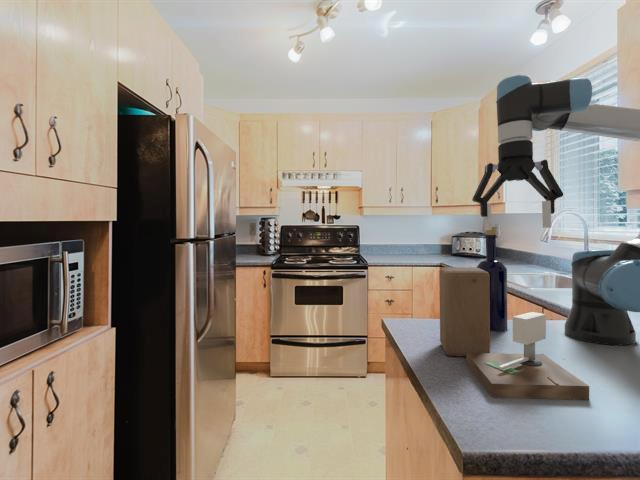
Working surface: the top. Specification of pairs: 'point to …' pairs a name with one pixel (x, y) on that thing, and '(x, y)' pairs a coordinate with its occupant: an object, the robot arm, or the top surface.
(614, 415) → the top surface
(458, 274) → the wooden block
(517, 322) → the cream block and rod
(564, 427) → the top surface
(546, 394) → the board
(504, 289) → the bottle
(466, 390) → the top surface
